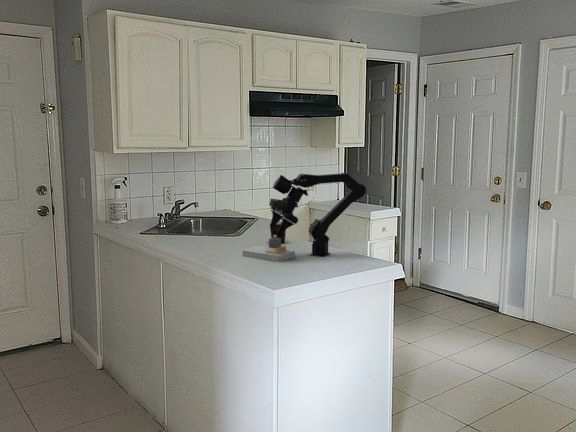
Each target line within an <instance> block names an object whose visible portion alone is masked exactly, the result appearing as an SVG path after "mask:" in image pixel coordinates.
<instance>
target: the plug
mask: <svg viewBox="0 0 576 432" xmlns="http://www.w3.org/2000/svg"><path fill="white" fill-rule="evenodd" d="M268 247H270V248H279V247H282V244H281V238H277V235H273V238H268Z"/></svg>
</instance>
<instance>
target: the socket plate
mask: <svg viewBox="0 0 576 432" xmlns="http://www.w3.org/2000/svg"><path fill="white" fill-rule="evenodd" d="M270 249H273V248H270V247H269V246H268V247H267V246H263V245H262V246H261V245H257V246H254V247H250V248H246V249H243V250H241V251H242V252H241V253H242V256H243V257H248V258H253V259H259V260H266V261H270V262H271V261H272V262H277V263H278V262H283V261H286V260H289V259H292V258H295V257H296V251H295V250H289V249H286V251H285V252H282V253H279V254H275V253H269V252H265V251H266V250H270Z"/></svg>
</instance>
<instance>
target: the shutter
mask: <svg viewBox="0 0 576 432" xmlns="http://www.w3.org/2000/svg"><path fill="white" fill-rule="evenodd" d="M286 250H287V248H286V246H284V245H281V247H279V248H273V249H270V250H266V251H265V252H269V253H275V254H279V253H282V252H285V251H286Z"/></svg>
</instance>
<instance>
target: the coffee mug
mask: <svg viewBox="0 0 576 432" xmlns="http://www.w3.org/2000/svg"><path fill="white" fill-rule="evenodd" d="M281 223H282V221H279V222H278V223H277V224H276V225H275V226H274V227H273V228H271V227H270V226H269V229H270V236H271V238H273V235H277V238H281V245H283V244H285V243H286V234H287V229H286V230H284V231H283V232H281V233H280V234H278V233H277V232H278V229H279V227H280V225H281ZM270 224H271V221H270V222H269V225H270ZM271 238H270V239H271Z"/></svg>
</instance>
